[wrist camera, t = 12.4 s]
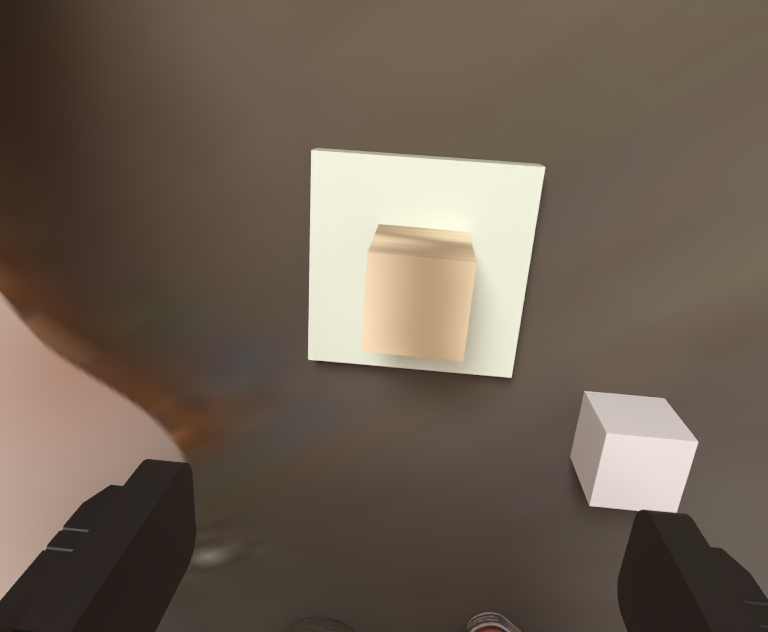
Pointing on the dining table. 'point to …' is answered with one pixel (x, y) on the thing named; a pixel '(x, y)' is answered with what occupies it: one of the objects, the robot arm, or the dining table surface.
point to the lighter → (490, 623)
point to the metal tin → (319, 625)
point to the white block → (631, 452)
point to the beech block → (418, 292)
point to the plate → (423, 210)
